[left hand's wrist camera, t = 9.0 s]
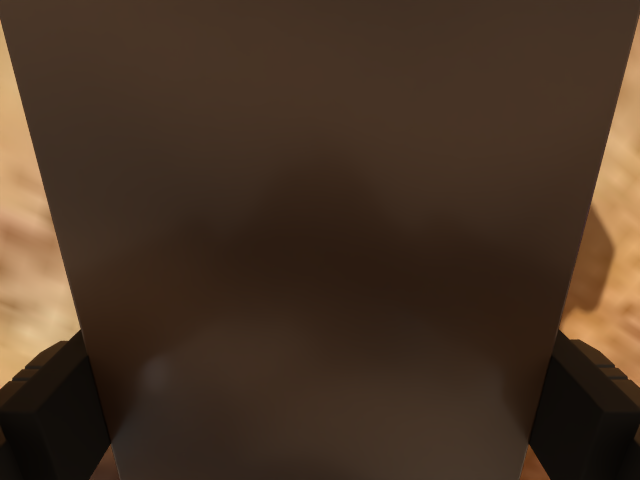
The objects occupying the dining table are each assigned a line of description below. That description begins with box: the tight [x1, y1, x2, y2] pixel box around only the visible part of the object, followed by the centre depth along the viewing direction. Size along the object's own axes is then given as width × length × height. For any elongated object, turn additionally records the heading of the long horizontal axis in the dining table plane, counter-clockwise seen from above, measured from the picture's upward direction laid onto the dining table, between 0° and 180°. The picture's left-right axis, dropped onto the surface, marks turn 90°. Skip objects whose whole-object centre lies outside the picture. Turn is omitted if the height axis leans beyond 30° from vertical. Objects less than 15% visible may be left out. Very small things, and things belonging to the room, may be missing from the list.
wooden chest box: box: [0, 0, 640, 480], centre depth 11 cm, size 18×11×8 cm, turn 0°
